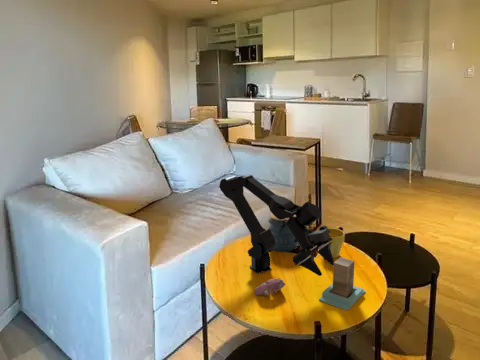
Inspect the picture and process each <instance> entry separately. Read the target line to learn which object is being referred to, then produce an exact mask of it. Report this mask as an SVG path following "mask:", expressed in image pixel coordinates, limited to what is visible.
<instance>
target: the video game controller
mask: <svg viewBox="0 0 480 360" xmlns="http://www.w3.org/2000/svg"><path fill="white" fill-rule="evenodd" d="M285 285H286V283H285V281H284V280H283V279H281V278H280V277H279V278H270V279H268V280H267V281H265V282H262V283H261V284H259V286H256V287H255V288H254V293H255V295H256V296H260V295H264V296H266V297H267V296H269V295H270V294H271V292H272V293H273V294H276V293H278V292H279V291H280V290H281V289H283V288H284V287H285Z"/></svg>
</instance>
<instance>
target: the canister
mask: <svg viewBox="0 0 480 360" xmlns="http://www.w3.org/2000/svg"><path fill="white" fill-rule="evenodd" d="M294 217H296V215H294ZM285 219H286V220H288V219H289V218H285ZM285 219H281V220H280V219H278V218H276V217H275V216H274V215H273V214H272V212H270V217H269V218H268V223H269V225H268V227H267V228H268V229H270V230H271V233H272V235H273V236H274V237H275V238H274V239H275V246H274V248H273V249H272V251H273V250H274V251H276V252H282V253H283V252H284V253H286V252H291V250H293V249H295V248H296V247H297V246H298V247H299V243H298V242H296V243H295V242H294V240H295V238H294V236H293V235H292V233H291V232H290V231H289V229H288V228H287V227H285V228H283V229H282V228H281V226H282V221H283V220H285ZM298 247H297V248H298ZM295 250H296V249H295ZM293 251H294V250H293Z"/></svg>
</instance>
